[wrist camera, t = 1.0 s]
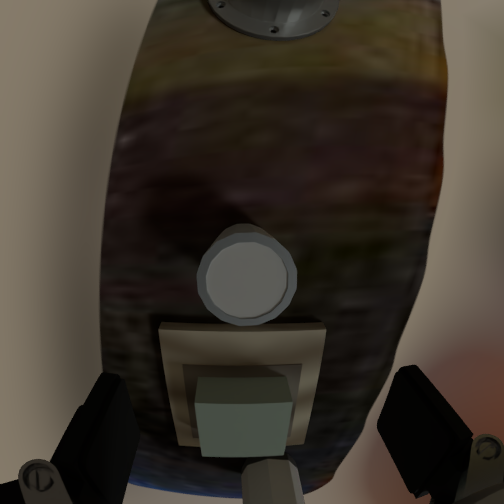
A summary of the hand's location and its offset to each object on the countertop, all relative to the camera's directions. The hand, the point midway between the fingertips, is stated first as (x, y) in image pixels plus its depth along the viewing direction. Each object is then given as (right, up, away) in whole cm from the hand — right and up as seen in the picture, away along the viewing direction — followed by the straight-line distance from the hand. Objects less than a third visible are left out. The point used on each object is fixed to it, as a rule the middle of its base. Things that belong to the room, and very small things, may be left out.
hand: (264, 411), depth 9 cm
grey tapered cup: (-1, +5, +18) cm, 19 cm away
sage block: (-1, -12, +21) cm, 24 cm away
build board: (-2, -10, +22) cm, 24 cm away
